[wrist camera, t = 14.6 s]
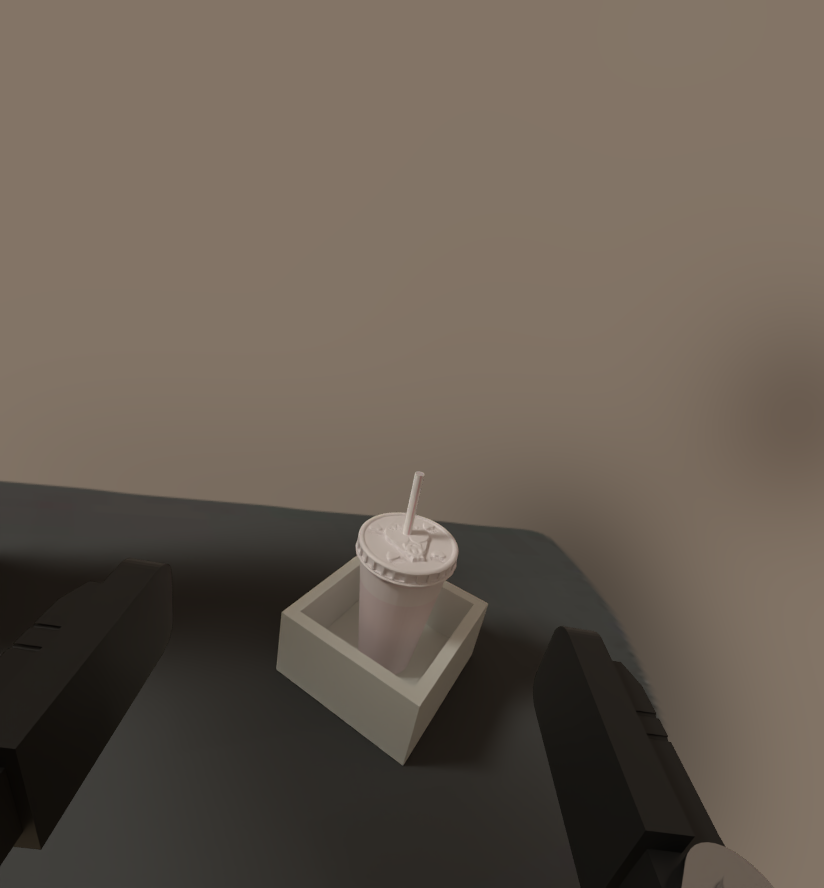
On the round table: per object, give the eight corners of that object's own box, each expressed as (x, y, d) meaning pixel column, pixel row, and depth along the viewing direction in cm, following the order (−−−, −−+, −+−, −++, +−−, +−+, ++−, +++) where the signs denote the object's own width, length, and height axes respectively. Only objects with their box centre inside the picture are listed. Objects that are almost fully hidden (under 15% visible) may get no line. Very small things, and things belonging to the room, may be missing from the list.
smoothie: (413, 615, 35) (452, 455, 30) (442, 687, 30) (495, 508, 25) (332, 622, 33) (358, 452, 28) (346, 701, 28) (382, 508, 22)
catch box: (276, 669, 30) (281, 612, 28) (365, 590, 38) (374, 542, 36) (403, 765, 26) (419, 706, 24) (472, 654, 34) (488, 603, 32)
